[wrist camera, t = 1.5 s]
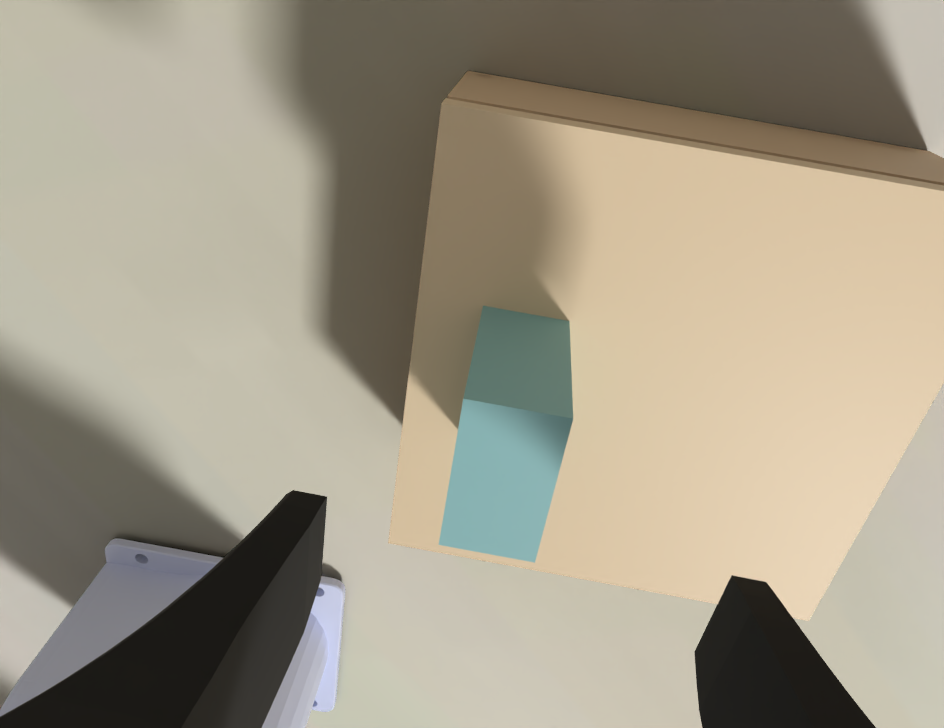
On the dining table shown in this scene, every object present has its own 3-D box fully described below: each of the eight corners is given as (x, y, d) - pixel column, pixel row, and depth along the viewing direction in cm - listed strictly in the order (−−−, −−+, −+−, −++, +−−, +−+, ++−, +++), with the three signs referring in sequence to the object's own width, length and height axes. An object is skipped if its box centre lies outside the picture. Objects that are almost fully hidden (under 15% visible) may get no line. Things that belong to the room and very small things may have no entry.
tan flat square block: (392, 528, 21) (353, 663, 17) (445, 98, 15) (404, 148, 11) (802, 604, 21) (861, 758, 17) (1024, 199, 15) (1202, 289, 11)
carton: (417, 442, 24) (394, 521, 21) (467, 70, 18) (447, 96, 15) (764, 505, 24) (799, 596, 21) (929, 151, 18) (1016, 195, 15)
